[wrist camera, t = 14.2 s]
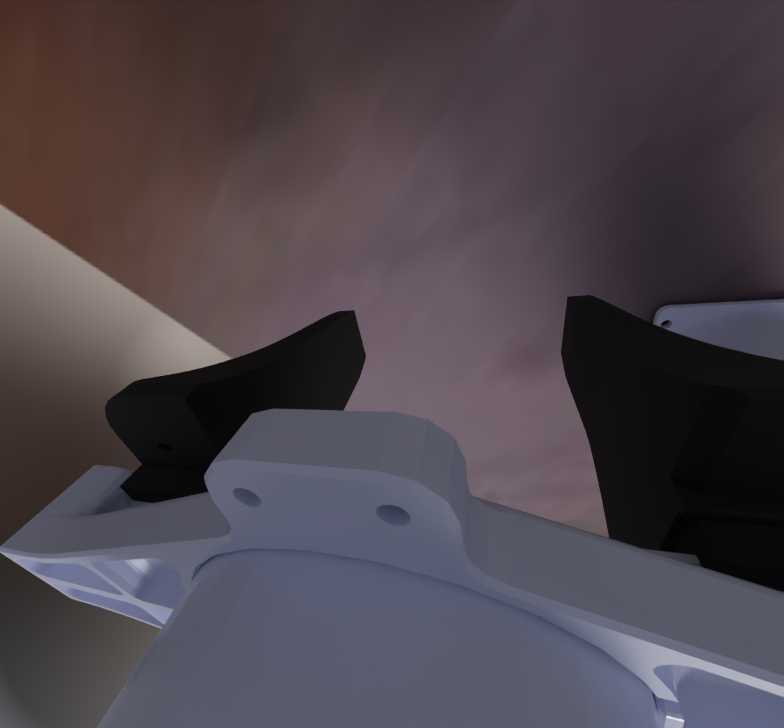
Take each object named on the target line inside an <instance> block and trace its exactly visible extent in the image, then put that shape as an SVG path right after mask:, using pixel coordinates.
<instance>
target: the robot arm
mask: <svg viewBox="0 0 784 728" xmlns="http://www.w3.org/2000/svg"><path fill="white" fill-rule="evenodd" d="M666 320H669V322H668V323H667V324H666V325H661V323H662V322H664V321H666ZM561 355H562V360H563V366H564V371H565V376H566V379H567V382H568V385H569V387H570V390H571V393H572V396H573V398H574V401H575V404H576V406H577V409H578V411H579V414H580V417H581V420H582V422H583V425H584V428H585V430H586V433H587V437H588V440H589V443H590V447H591V452H592V456H593V460H594V464H595V469H596V473H597V478H598V483H599V487H600V492H601V497H602V502H603V507H604V512H605V518H606V523H607V528H608V534H609V538H607V537H604V536H600V535H597V534H594V533H591V532H587V531H584V530H581V529H578V528H574V527H571V526H568V525H565V524H562V523H558V522H555V521H552V520H549V519H546V518H542V517H539V516H536V515H533V514H529V513H526V512H523V511H520V510H517V509H513V508H510V507H507V506H504V505H500V504H497V503H494V502H491V501H487V500H484V499H481V498H478V497H475V496H473V495H472V494H471V493H470V491H469V488H468V484H467V475H466V462H465V459H464V456H463V454H462V452H461V450H460V448H459V446H458V444H457V442H456V440H455V438H454V437H453V436H451V435H450V434H448V433H447V432H445V431H444V430H443V429H441V428H440V427H438V426H437V425H435V424H434V423H433V422H431V421H430V420H428V419H424V418H419V417H415V416H411V415H406V414H402V413H397V412H372V411H343V410H344V408H345V406H346V404H347V402H348V400H349V398H350V396H351V394H352V392H353V390H354V388H355V386H356V384H357V382H358V380H359V378H360V375H361V372H362V369H363V365H364V362H365V358H366V355H365V351H364V347H363V343H362V339H361V335H360V331H359V327H358V323H357V320H356V316H355V312H354V310H352V311H339V312H336V313H333V314H331V315H328V316H326V317H324V318H322V319H320V320H318V321H316V322H315V323H313V324H311V325H309V326H307V327H305V328H303V329H302V330H300V331H298V332H296V333H294V334H292V335H290V336H288V337H286V338H284V339H282V340H280V341H278V342H276V343H273V344H271V345H269V346H267V347H264V348H262V349H259V350H257V351H254V352H252V353H249V354H246V355H244V356H240V357H237V358H234V359H231V360H228V361H225V362H222V363H218V364H215V365H211V366H207V367H204V368H199V369H195V370H191V371H186V372H181V373H176V374H171V375H165V376H159V377H153V378H148V379H141V380H138V381H135V382H133V383H131V384H130V385H128V386H127V387H126V388H125V389H123V390H122V391H120V392H119V393H118V394H116V395H115V396H113V397H112V398H111V399H110V400H108V401H107V404H106V406H105V411H106V418H107V420H108V422H109V425H110V426H111V428H112V429H113V430H114V432H115V433H116V434H117V436H118V437H119V438H120V439H121V440H122V441H123V443H124V444H125V445H126V446H127V447H128V448H129V449H130V451H131V452H132V453H133V454H134V455H135V456H136V457H137V459H138V460H139V461H140V462H141V463H143V464H142V465H141V466H140V467H139V468H138V469H137V470H136V471H135V472H134V473H133V472H131V471H129V470H127V469H125V468H120V467H111V466H101V465H96V466H93V467H92V468H91V469H90V470H89V471H87V472H86V473H85V474H84V475H83V476H82V477H80V478H79V479H78V480H77V481H76V482H75V483H74V484H72V485H71V486H70V487H69V488H68V489H67V490H66V491H64V492H63V493H62V494H61V495H60V496H58V497H57V498H56V499H55V500H54V501H53V502H52V503H50V504H49V505H48V506H47V507H46V508H45V509H44V510H42V511H41V512H40V513H39V514H38V515H36V517H34V518H33V519H32V520H31V521H30V522H28V523H27V524H26V525H25V526H24V527H22V528H21V529H20V530H19V531H18V532H17V533H16V534H14V535H13V536H12V537H11V538H10V539H9V540H7V541H6V543H4V544H3V545H2V546H1V547H0V553H2V554H3V555H5V556H7V557H8V558H10V559H11V560H13V561H14V562H16V563H17V564H19V565H21V566H22V567H24V568H25V569H26V570H28V571H30V572H31V573H33V574H34V575H36V576H37V577H39V578H41V579H42V580H43V581H45V582H47V583H48V584H50V585H51V586H53V587H54V588H56V589H57V590H59V591H60V592H62V593H63V594H65V595H67V596H68V597H70V598H71V599H74V600H78V601H81V602H85V603H88V604H92V605H95V606H98V607H101V608H104V609H108V610H110V611H113V612H116V613H119V614H122V615H125V616H128V617H131V618H134V619H136V620H139V621H142V622H145V623H147V624H150V625H153V626H156V627H158V628H161V630H160V632H159V633H158V635H157V636H156V638H155V639H154V641H153V643H152V644H151V646H150V647H149V649H148V650H147V652H146V653H145V655H144V656H143V658H142V659H141V661H140V662H139V664H138V666H137V667H136V669H135V670H134V672H133V673H132V675H131V676H130V678H129V679H128V681H127V683H126V684H125V686H124V687H123V689H122V690H121V692H120V693H119V695H118V696H117V698H116V699H115V701H114V703H113V704H112V706H111V707H110V709H109V710H108V712H107V713H106V715H105V716H104V718H103V719H102V721H101V722H100V724H99V726H98V727H97V728H784V299H774V300H755V301H737V302H718V303H699V304H680V305H667V306H663V307H661V308H660V309H659V310H657V312H656V314H655V317H654V321H653V324H652V323H650V322H647V321H645V320H643V319H641V318H638V317H636V316H634V315H632V314H630V313H628V312H626V311H623V310H621V309H619V308H617V307H615V306H613V305H611V304H609V303H607V302H605V301H603V300H601V299H599V298H596V297H594V296H591V295H587V296H571V297H568V298H567V307H566V315H565V323H564V332H563V340H562V349H561Z"/></svg>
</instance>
